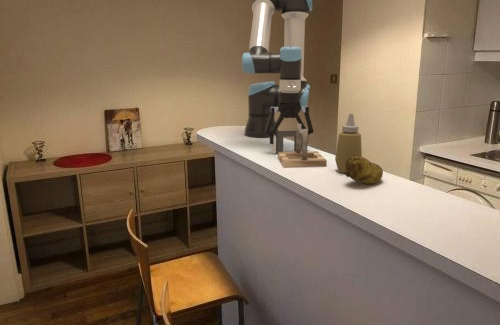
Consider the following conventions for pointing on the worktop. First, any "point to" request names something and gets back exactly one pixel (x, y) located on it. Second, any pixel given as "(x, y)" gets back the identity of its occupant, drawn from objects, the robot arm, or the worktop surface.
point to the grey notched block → (280, 139)
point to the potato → (363, 170)
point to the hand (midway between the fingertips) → (288, 152)
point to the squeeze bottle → (348, 144)
